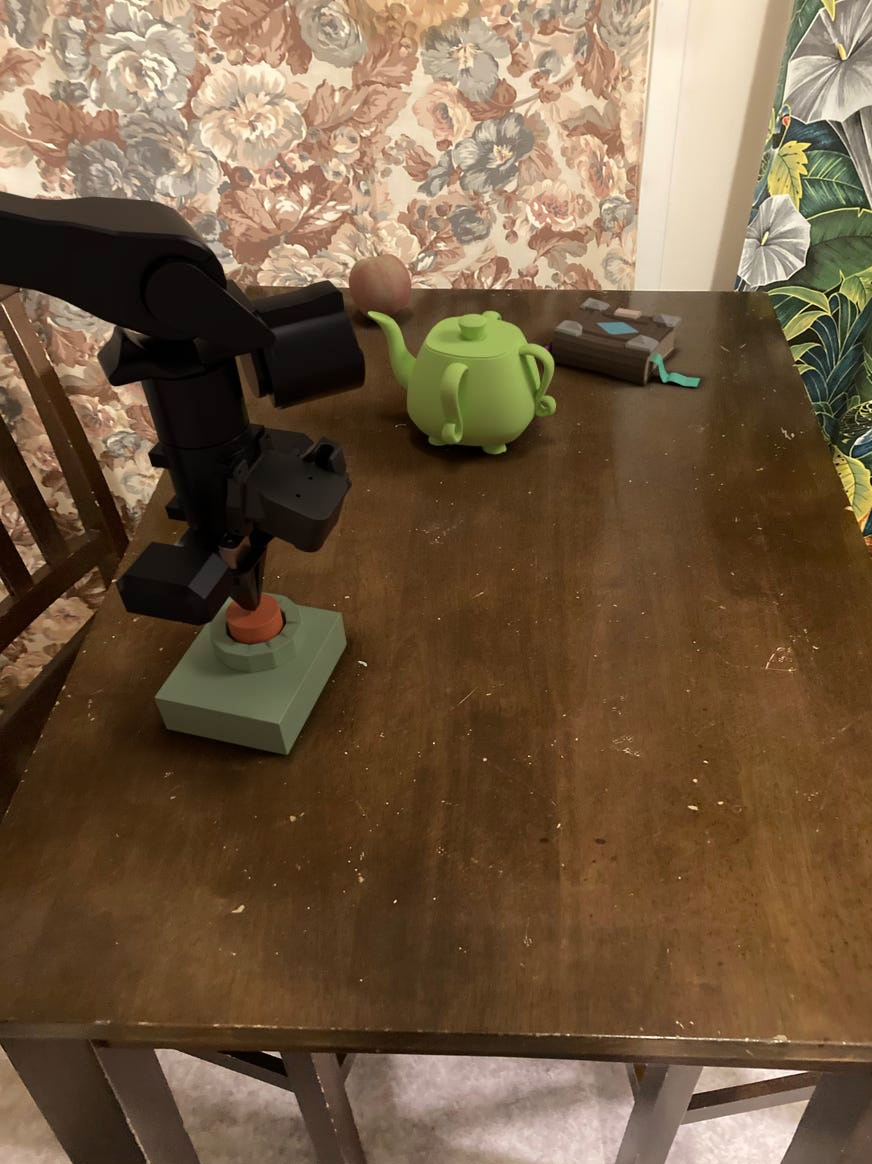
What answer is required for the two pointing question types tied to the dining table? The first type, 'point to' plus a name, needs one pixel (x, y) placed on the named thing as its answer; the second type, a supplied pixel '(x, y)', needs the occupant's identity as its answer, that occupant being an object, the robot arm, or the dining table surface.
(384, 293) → the apple
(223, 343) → the robot arm
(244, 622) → the lid button
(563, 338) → the book
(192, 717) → the push button box
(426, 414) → the teapot
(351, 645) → the dining table surface
